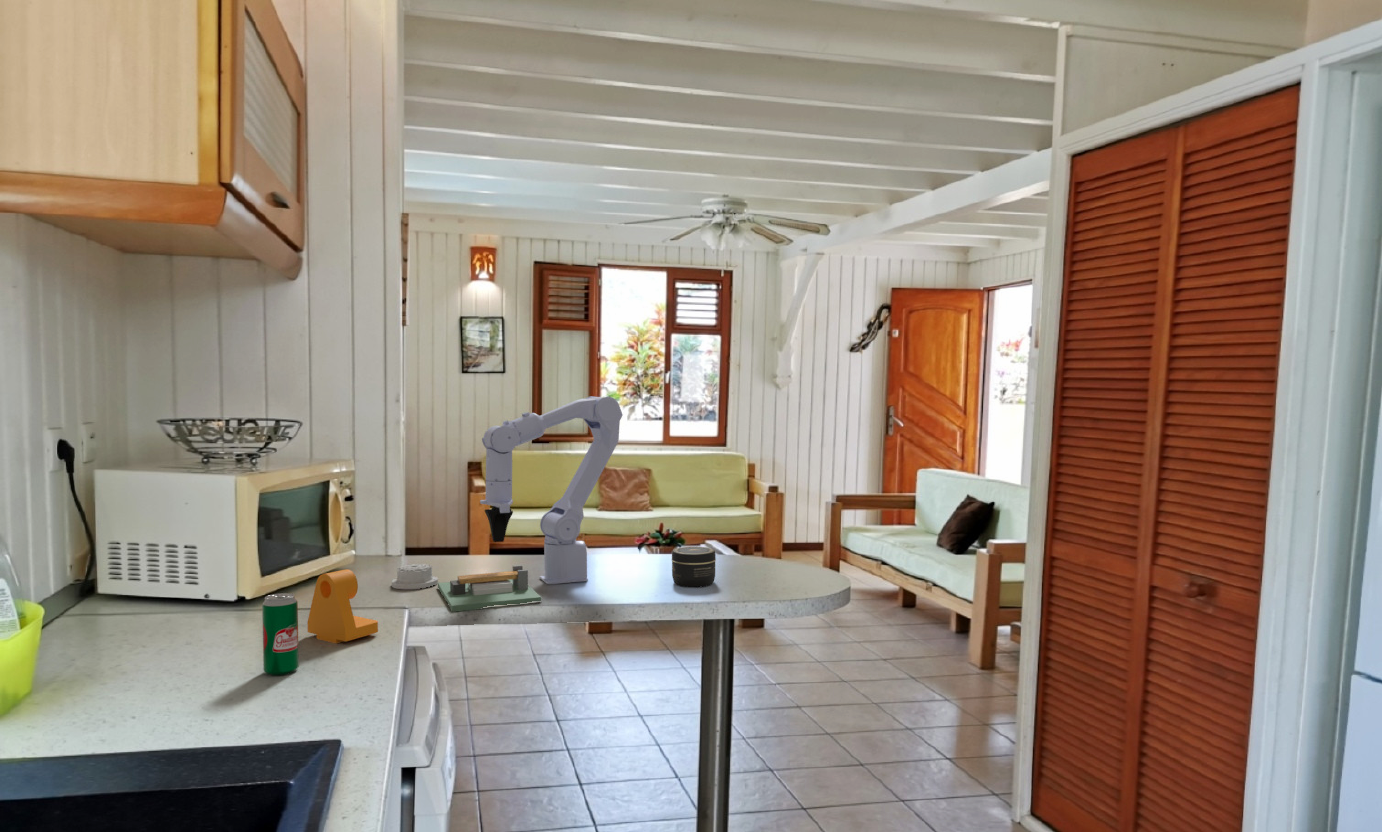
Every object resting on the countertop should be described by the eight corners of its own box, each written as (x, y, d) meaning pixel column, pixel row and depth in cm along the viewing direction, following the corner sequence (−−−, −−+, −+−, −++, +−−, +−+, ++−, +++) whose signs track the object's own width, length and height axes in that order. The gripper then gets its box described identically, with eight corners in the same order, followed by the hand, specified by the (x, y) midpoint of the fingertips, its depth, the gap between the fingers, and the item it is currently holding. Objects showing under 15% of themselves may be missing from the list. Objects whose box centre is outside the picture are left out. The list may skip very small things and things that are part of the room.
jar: (664, 581, 204) (664, 548, 204) (702, 577, 208) (702, 544, 208) (684, 590, 195) (683, 555, 195) (723, 585, 200) (723, 551, 199)
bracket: (380, 636, 161) (379, 570, 160) (345, 646, 154) (344, 577, 154) (342, 627, 166) (341, 563, 166) (307, 636, 160) (306, 570, 160)
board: (518, 581, 204) (518, 558, 204) (541, 602, 184) (540, 577, 184) (437, 588, 197) (437, 564, 197) (451, 611, 177) (451, 585, 177)
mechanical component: (385, 591, 196) (430, 591, 196) (384, 571, 196) (429, 571, 196) (400, 581, 206) (443, 581, 206) (400, 562, 206) (443, 562, 206)
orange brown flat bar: (521, 575, 195) (521, 569, 195) (525, 579, 192) (525, 572, 192) (457, 581, 190) (457, 574, 190) (460, 585, 187) (460, 578, 186)
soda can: (276, 678, 137) (274, 601, 137) (256, 673, 140) (255, 597, 139) (305, 669, 141) (304, 594, 141) (286, 664, 144) (284, 591, 144)
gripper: (475, 477, 202) (474, 537, 202) (486, 483, 189) (485, 547, 189) (506, 476, 205) (505, 535, 205) (519, 483, 191) (519, 546, 192)
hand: (498, 541), depth 197 cm, fingers closed
